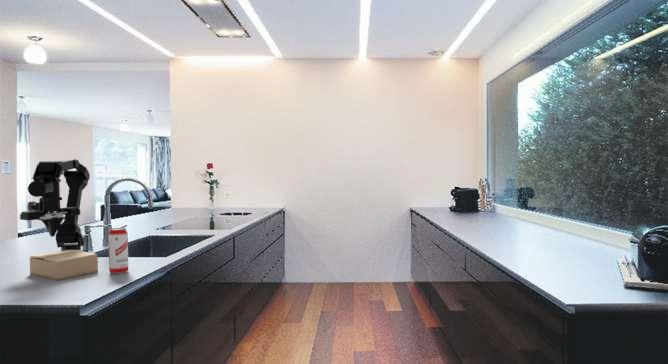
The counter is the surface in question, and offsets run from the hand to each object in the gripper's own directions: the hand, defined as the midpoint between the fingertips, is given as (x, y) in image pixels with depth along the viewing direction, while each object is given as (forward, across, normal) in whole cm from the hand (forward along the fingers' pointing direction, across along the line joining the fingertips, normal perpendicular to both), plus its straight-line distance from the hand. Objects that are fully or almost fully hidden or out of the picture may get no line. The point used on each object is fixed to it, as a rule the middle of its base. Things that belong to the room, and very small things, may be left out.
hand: (52, 236), depth 162 cm
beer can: (+13, -8, +26) cm, 30 cm away
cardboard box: (+13, +1, +9) cm, 15 cm away
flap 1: (+6, +1, +4) cm, 8 cm away
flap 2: (+6, +1, +13) cm, 15 cm away
